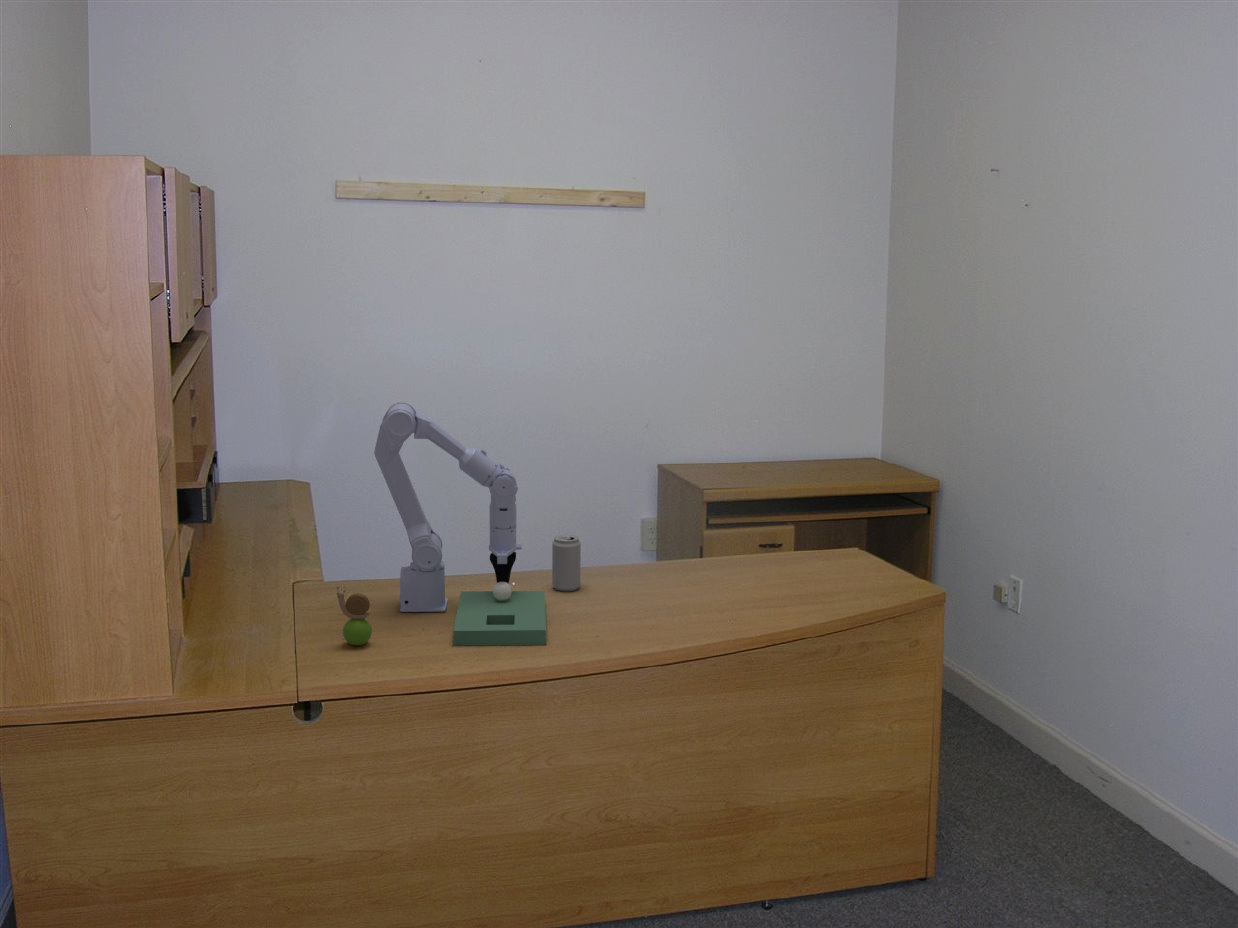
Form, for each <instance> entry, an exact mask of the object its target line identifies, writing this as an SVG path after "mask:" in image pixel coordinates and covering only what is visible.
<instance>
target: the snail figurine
mask: <svg viewBox="0 0 1238 928" xmlns="http://www.w3.org/2000/svg"><path fill="white" fill-rule="evenodd" d="M335 587H336V590H337V592H336V595H337V596H336V597H337V599H338V603H339V604H338V605H339V607H340V610H341V611H342V613H343V615H344V616H346V617H347V618H350V619H349V620H347V621H346V623H345V624H344V626H343V630H342V635H343V638H344V640H345V641H346V642H347V643H348V644H350V645H352V646H362V645H364V644H366V643H367V642H369V640H370V638H371V637H372V633H373V631H372V629H373V628H372V626H371V624H370V622H369V621H368V620H367V619H366V618H368V617H369V615H370V614H371V612H368V611H369V609H370V606H371V603H370V600H369V598H368V597H367V596H366V595H365V594H362V593H360V592H359V593H357V592H356V593H353V594H351V595H350V596H349V597H348V598H347V599H346V601H345V593H344V591H341V590H339V589H340V588H341V586H340V585H339V584H338V585H336V586H335Z"/></svg>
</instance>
